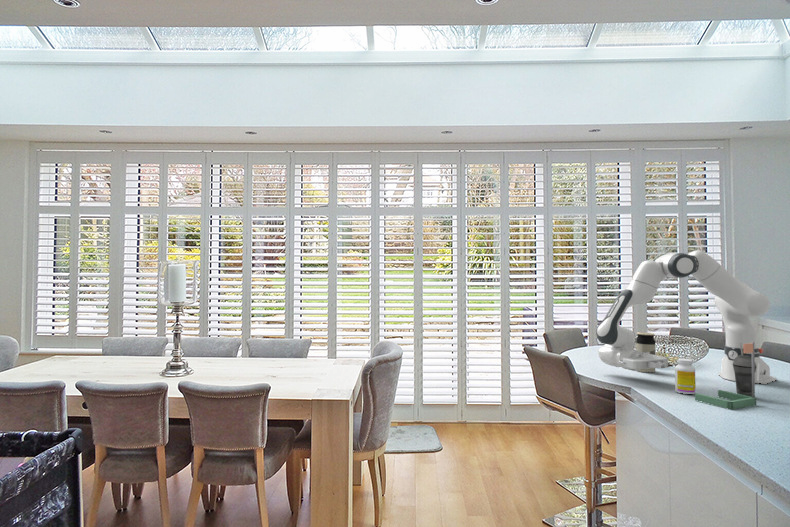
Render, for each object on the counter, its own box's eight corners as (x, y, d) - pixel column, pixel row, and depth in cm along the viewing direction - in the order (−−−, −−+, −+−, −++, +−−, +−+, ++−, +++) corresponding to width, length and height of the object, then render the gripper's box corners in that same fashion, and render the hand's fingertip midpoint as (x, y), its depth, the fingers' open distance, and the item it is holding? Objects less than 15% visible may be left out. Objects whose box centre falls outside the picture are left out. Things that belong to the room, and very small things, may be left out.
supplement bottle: (698, 395, 174) (698, 361, 174) (679, 394, 175) (679, 360, 176) (691, 391, 181) (690, 358, 181) (672, 390, 182) (672, 357, 182)
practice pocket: (720, 396, 173) (719, 337, 174) (756, 405, 162) (755, 342, 163) (695, 400, 167) (694, 339, 168) (730, 409, 156) (730, 344, 157)
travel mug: (632, 369, 222) (632, 332, 222) (648, 369, 222) (647, 332, 223) (643, 373, 214) (643, 334, 214) (659, 373, 215) (659, 334, 215)
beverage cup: (750, 400, 169) (750, 345, 169) (728, 395, 175) (728, 342, 176) (760, 397, 172) (760, 343, 172) (739, 393, 178) (738, 341, 179)
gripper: (615, 354, 195) (645, 359, 182) (649, 351, 203) (679, 357, 191) (615, 369, 195) (644, 375, 182) (649, 366, 203) (679, 372, 190)
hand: (662, 366), depth 186 cm, fingers closed
